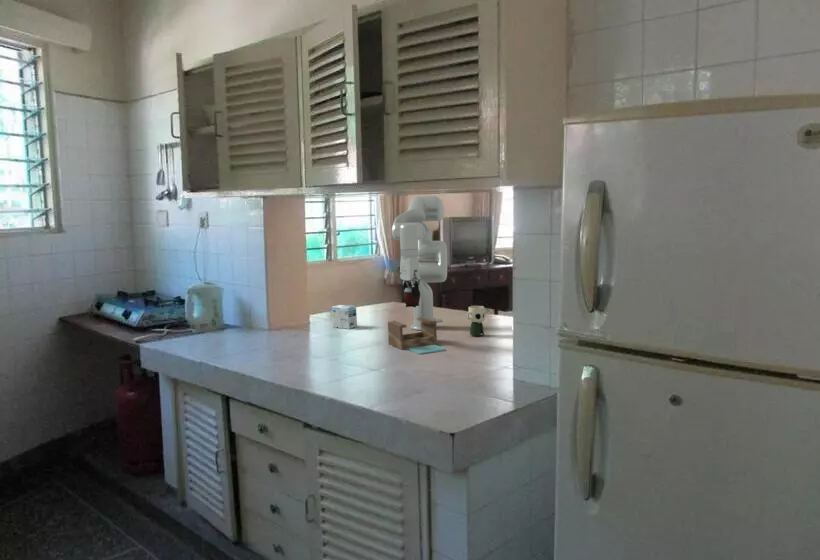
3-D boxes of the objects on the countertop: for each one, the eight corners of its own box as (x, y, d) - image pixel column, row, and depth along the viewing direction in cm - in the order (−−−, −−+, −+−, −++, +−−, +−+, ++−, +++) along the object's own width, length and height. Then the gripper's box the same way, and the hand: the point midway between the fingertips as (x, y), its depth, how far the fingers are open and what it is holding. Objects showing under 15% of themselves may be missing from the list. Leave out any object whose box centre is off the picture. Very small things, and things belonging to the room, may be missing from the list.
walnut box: (423, 339, 282) (422, 317, 281) (436, 344, 271) (436, 321, 270) (388, 344, 274) (387, 321, 273) (400, 349, 264) (400, 325, 263)
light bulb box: (357, 327, 316) (356, 305, 315) (349, 329, 311) (348, 307, 309) (340, 325, 322) (339, 304, 321) (332, 327, 316) (331, 306, 315)
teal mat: (433, 345, 268) (433, 344, 268) (445, 350, 260) (445, 348, 259) (408, 349, 263) (408, 348, 263) (419, 354, 254) (419, 352, 254)
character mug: (473, 338, 280) (472, 309, 279) (462, 336, 286) (461, 307, 284) (491, 335, 286) (491, 306, 285) (480, 332, 292) (480, 304, 291)
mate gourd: (423, 306, 270) (422, 271, 268) (406, 308, 267) (404, 272, 265) (416, 304, 276) (415, 269, 274) (399, 305, 274) (398, 271, 271)
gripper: (392, 252, 274) (394, 293, 277) (411, 255, 259) (412, 298, 261) (408, 251, 278) (409, 291, 280) (427, 254, 262) (428, 296, 265)
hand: (411, 294), depth 271 cm, fingers closed on mate gourd, 7 cm apart
